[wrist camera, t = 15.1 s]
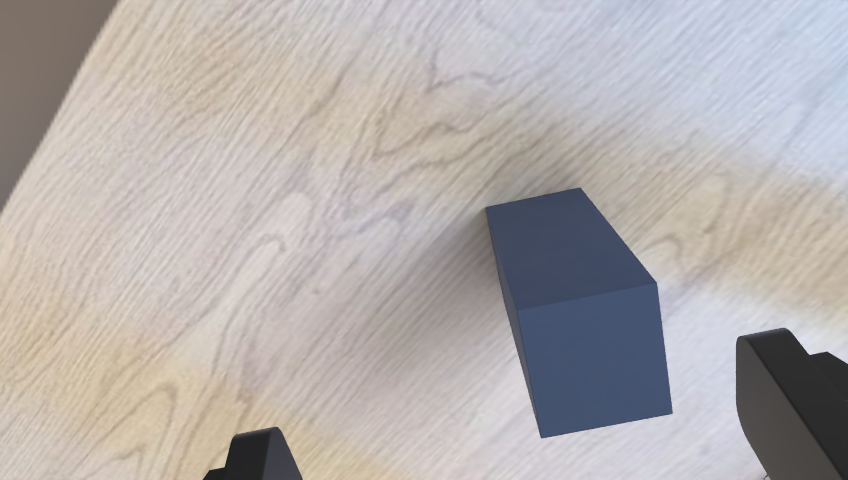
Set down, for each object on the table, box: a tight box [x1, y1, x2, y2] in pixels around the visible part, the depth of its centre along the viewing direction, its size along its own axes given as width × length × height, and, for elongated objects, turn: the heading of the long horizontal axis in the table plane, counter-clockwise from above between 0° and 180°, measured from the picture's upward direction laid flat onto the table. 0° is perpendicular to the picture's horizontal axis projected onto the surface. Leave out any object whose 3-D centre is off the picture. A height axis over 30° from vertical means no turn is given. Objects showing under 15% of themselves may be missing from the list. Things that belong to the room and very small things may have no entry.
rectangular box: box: [485, 188, 673, 438], centre depth 36 cm, size 14×6×6 cm
